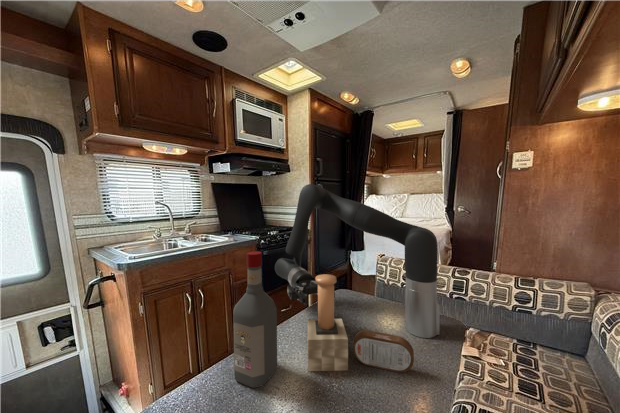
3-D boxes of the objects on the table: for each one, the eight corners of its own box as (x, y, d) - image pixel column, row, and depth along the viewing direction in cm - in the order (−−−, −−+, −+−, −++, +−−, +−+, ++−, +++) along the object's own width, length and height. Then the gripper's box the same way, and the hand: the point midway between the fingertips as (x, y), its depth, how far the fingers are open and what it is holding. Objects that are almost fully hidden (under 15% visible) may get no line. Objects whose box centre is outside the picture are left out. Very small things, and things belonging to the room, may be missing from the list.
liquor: (259, 392, 52) (257, 259, 51) (228, 379, 56) (226, 255, 55) (281, 366, 61) (280, 250, 60) (253, 356, 64) (251, 247, 64)
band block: (341, 345, 69) (341, 316, 69) (348, 370, 59) (347, 335, 59) (307, 346, 69) (307, 316, 68) (308, 371, 59) (307, 336, 58)
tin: (413, 369, 59) (413, 336, 59) (414, 378, 56) (414, 343, 56) (353, 356, 64) (353, 326, 64) (351, 364, 61) (351, 332, 61)
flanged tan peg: (335, 347, 67) (334, 274, 66) (338, 360, 61) (337, 281, 60) (315, 347, 67) (315, 274, 66) (316, 361, 61) (316, 281, 60)
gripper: (281, 272, 79) (296, 289, 64) (319, 267, 84) (342, 282, 69) (281, 294, 79) (296, 316, 64) (319, 288, 85) (342, 307, 70)
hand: (320, 298), depth 67 cm, fingers open, 8 cm apart
